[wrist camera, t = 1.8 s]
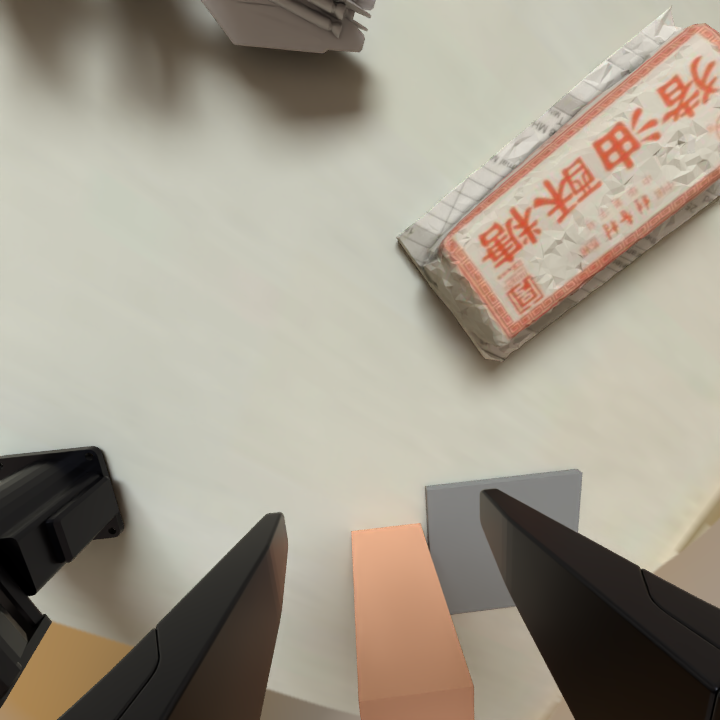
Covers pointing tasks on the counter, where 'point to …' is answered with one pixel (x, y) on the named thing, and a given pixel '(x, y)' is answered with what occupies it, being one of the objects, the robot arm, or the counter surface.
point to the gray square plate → (467, 539)
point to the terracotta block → (405, 631)
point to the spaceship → (292, 23)
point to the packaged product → (578, 189)
